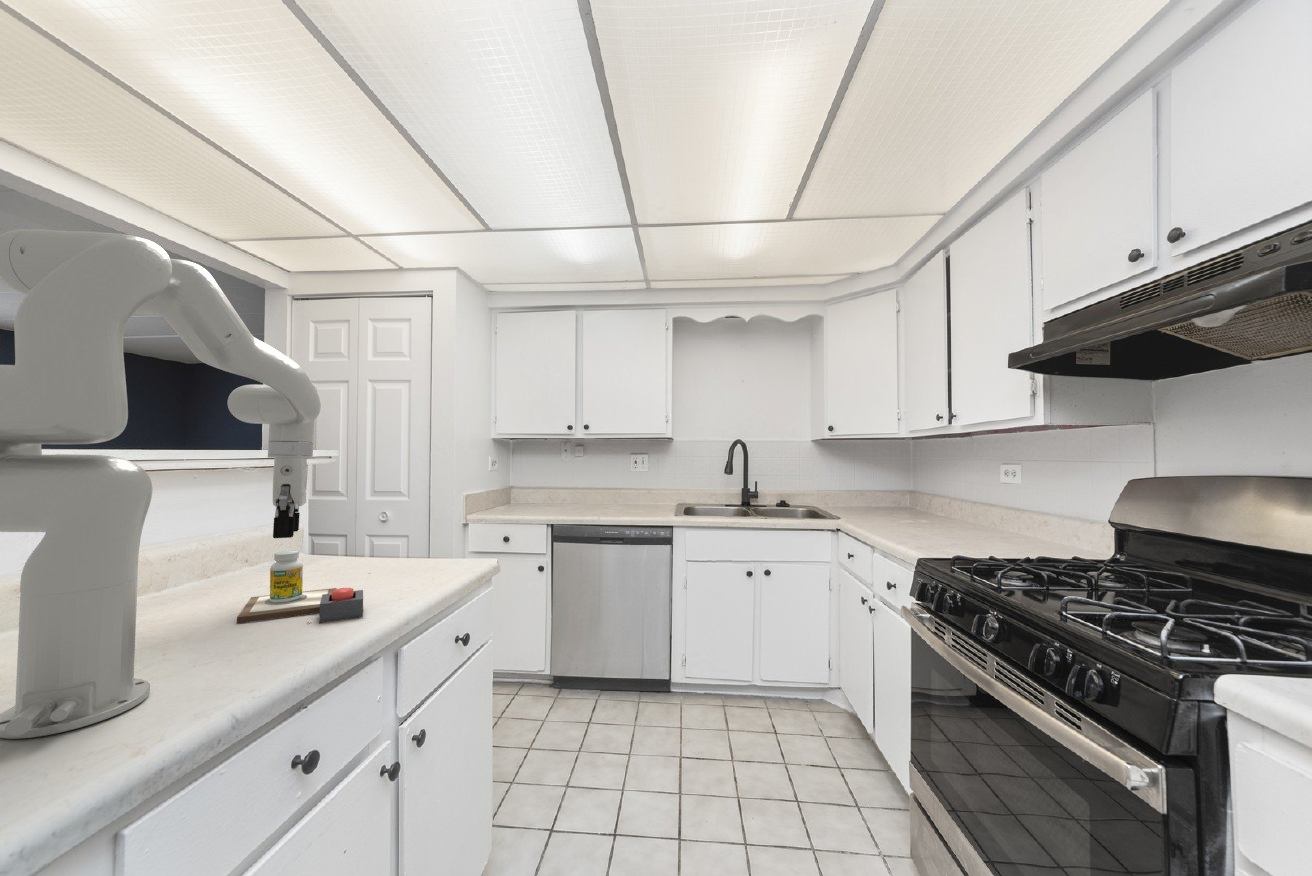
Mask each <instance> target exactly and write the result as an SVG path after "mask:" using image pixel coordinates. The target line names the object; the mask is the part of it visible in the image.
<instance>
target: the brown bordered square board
mask: <svg viewBox="0 0 1312 876" xmlns="http://www.w3.org/2000/svg"><path fill="white" fill-rule="evenodd" d="M335 589H338V588H337V587H333V588H332V587H331V588H323V589H313V590H305V591H303V590H302V597H301V598H299V599H297V600H293V601H289V602H283V603H274V602H271V601H270V594H269V595H259V596H251V597H250V599H249V600H248V601H247V603H246V604H245V606H244V607H243V608H242V610H241V611H240V612H239V614H238V615H237V617H236V624H246V623H253V622H261V621H268V620H269V621H270V620H276V619H284V618H293V617H301V616H308V615H315V614H320V602H321V598H322V594H331V593H332V591H333V590H335Z"/></svg>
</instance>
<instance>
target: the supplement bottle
mask: <svg viewBox="0 0 1312 876" xmlns="http://www.w3.org/2000/svg"><path fill="white" fill-rule="evenodd" d="M299 554H300V553H299V550H284V551H278V552H276V553H274V559H273V560H274V561H275V562H274V563H273V564H272V565H271V566H270V569H269V595H270V601H271V602H274V603H283V602H289V601H293V600H297V599H299V598H301V597H302V592H303V576H304V575H303V573H304V572H303V571H304V570H303V569H304V568H303V567H304V565H303V562H302V561H301V560H298V559H299V558H300V555H299Z"/></svg>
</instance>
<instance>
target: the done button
mask: <svg viewBox="0 0 1312 876" xmlns="http://www.w3.org/2000/svg"><path fill="white" fill-rule="evenodd" d="M353 591H354V588H353V587H341V588H337V589H335V590H333V591H332V601H335V600H344V599H352V598H353Z"/></svg>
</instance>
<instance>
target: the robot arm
mask: <svg viewBox="0 0 1312 876" xmlns="http://www.w3.org/2000/svg"><path fill="white" fill-rule="evenodd" d="M0 280H2V282H4V283H5V284H6V285H7V286H9V287H10V288H11V289H13V290H15V291H17V292H19V293H21V294H24V295H25V296H24V298H23V300H22V301H21V303H20V305H19V307H18V308H17V311H16V314H15V317H14V325H13V326H14V327H13V329H14V330H13V331H14V358H15V359H14V361H15V363H14V364H0V533H44V536H43V537H42V539H41V540H40V542H39V543H38V544H37V545H36V547H35V548H34V550H33V551H32V552H31V553H30V555H29V556H28V558H27V559H26V561H25V563H24V566H23V568H22V570H21V575H20V582H19V583H20V584H19V585H20V586H19V593H20V594H19V596H20V599H19V617H18V636H17V637H18V640H17V663H16V664H17V666H16V683H15V704H14V705H13V706H11V707H10V708H8V709H7V710H5V711H3V712H2V713H1V714H0V738H2V739H8V740H10V739H13V740H15V739H16V740H21V739H33V738H38V737H44V736H46V737H47V736H50V735H56V734H60V733H64V732H69V731H72V730H73V731H74V730H77V729H79V728H83V727H87V726H90V725H94V724H98V723H99V722H102V721H105V720H107V719H110V718H113V717H115V716H117V715H120V714H122V713H124V712H127V711H129V710H131V709H133V708H134V707H135V706H138V705H139V704H141V703H142V702H143V701H145V699H147V698H148V697H149V695H150V693H151V684H150V682H149V681H148V680H145V679H142V678H136V677H135V676H134V675H135V655H136V654H135V653H136V625H137V606H138V605H137V603H138V601H137V599H138V581H139V580H138V574H139V572H138V571H139V555H140V545H141V538H142V533H143V529H144V524H145V522H146V521H145V520H146V517H147V515H148V511H149V508H150V505H151V501H152V497H153V483H152V479H151V478H150V475H149V474H148V473H147V471H146V470H145V469H144V468H143V467H141V466H140V465H138V464H137V463H135V462H133V461H130V460H129V459H128V460H127V459H125V458H121V457H116V456H111V455H103V454H102V455H101V454H100V455H99V454H68V453H67V454H66V453H65V454H64V453H63V454H60V453H59V454H58V453H57V454H43V451H42V445H90V444H92V445H93V444H100V443H104V442H108V441H111V440H113V439H115V438H117V437H118V436H120V435H121V434H122V433H123V432H124V430H125V429H126V427H127V425H128V419H129V409H128V408H129V407H128V394H127V393H128V392H127V381H126V378H127V377H126V368H125V356H124V335H125V330H126V327H127V325H128V322H129V321H130V319H131V318H132V317H133V315H145V316H146V315H148V316H152V315H153V316H160V317H162V318H163V319H164V320H165V321H166V322H167V323H168V325H169V326H170V327H171V328H172V329H173V331H174V332H175V333H176V334H177V335H178V336H179V337H180V339H181V340H182V341H183V342H184V344H185V345H186V346H187V348H188V349H189V350H190V351H191V352H192V354H193V355H194V356H195V358H197V359H198V360H199V361H201V363H204V364H206V365H208V366H210V367H213V368H216V369H218V370H222V371H224V372H228V373H230V374H234V375H237V376H241V377H243V378H244V377H245V378H248V379H250V380H253V381H257V382H259V383H260V384H244V385H241V386H238V387H237V388H235V389H233V390H232V391H231V393H230V394H229V396H228V399H227V408H228V410H229V412H230V414H231V415H233V416H232V417H234V418H236V419H237V420H239V421H241V422H243V423H247V424H257V425H260V424H262V425H263V424H264V425H265V424H266V425H269V428H268V443H267V458H269V459H270V458H273V459H274V460H273V461H274V462H273V476H272V505H273V506H274V507H275V512H274V517H273V526H272V527H273V531H272V538H274V539H287V538H293V537H294V535H295V534H294V533H295V532H296V533H297V532H299V529H300V528H299V527H300V515H301V514H300V512H299V510H300V507H302V506H305V504H306V503H307V484H308V483H307V480H308V479H307V478H308V461H307V459H314V435H315V420H316V419H317V418H318V417H319V414H320V412H321V400H320V396H319V394H318V391H317V389H316V387H315V385H314V384H313V382H312V381H311V379H310V378H309V376H308V375H307V373H306V372H305V370H304V369H303V368H302V367H301V366H300V365H299V364H298V363H297V362H295V361H294V360H293V359H292V358H290V357H288V356H287V355H285V354H283V352H280V351H279V350H277V349H275V348H274V347H273V346H271V345H269V344H268V343H265V342H263V341H262V340H259V338H257V337H255V336H253V334H252V333H251V331H250V330H249V328H248V327H247V325H246V324H245V322H244V321H243V319H242V318H241V317H240V315H239V314H238V312H237V311H236V309H235V307H233V304H232V303H231V302H230V300H229V299H228V297H227V296H226V294H225V293H224V291H223V290H222V288H221V287H220V286H219V284H218V282H217V281H216V279H215V278H214V277H213V275H211V273H210V272H209V271H208V270H207V269H206V268H204V267H203V266H201V264H197V263H195V262H192V261H190V260H184V259H178V258H170V256H169V254H168V253H167V252H166V250H164V248H162V247H161V246H160V245H159V244H157V243H155V242H154V241H151V240H149V239H146V238H143V237H141V236H135V235H130V234H124V233H123V234H122V233H115V232H114V233H113V232H102V231H101V232H100V231H78V230H77V231H75V230H71V231H70V230H57V229H41V228H39V229H38V228H20V229H19V228H18V229H13V230H8V231H6V232H3V233H1V234H0ZM261 383H262V384H261Z"/></svg>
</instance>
